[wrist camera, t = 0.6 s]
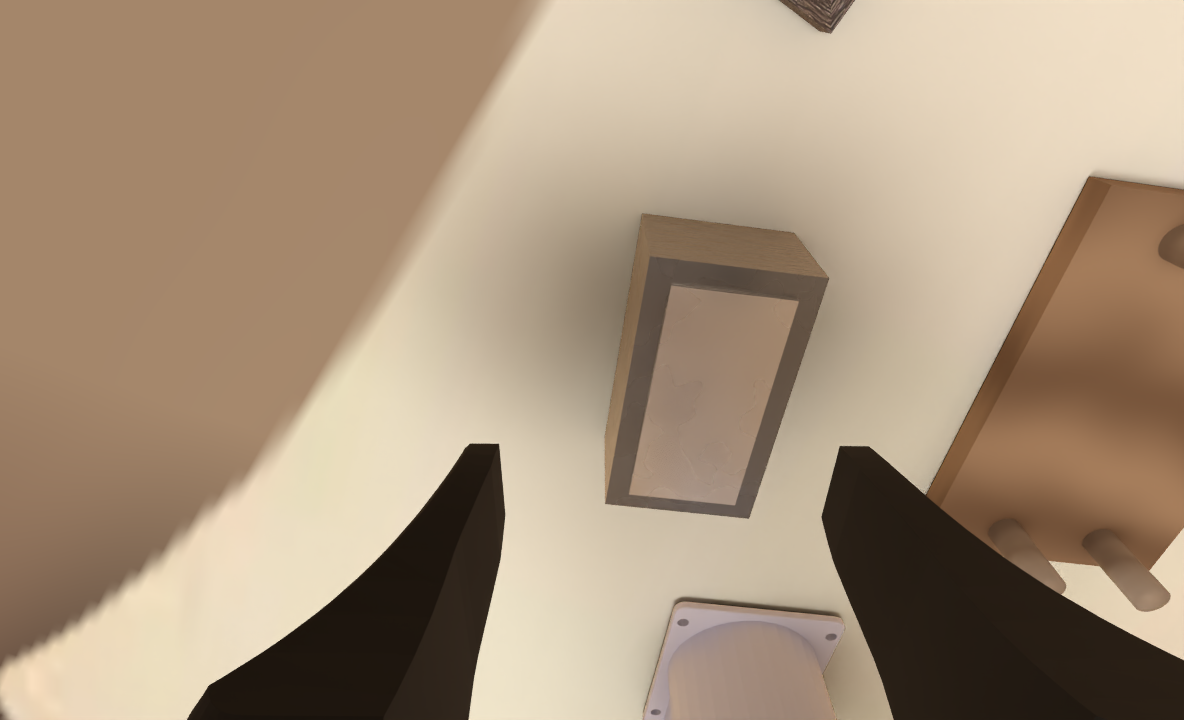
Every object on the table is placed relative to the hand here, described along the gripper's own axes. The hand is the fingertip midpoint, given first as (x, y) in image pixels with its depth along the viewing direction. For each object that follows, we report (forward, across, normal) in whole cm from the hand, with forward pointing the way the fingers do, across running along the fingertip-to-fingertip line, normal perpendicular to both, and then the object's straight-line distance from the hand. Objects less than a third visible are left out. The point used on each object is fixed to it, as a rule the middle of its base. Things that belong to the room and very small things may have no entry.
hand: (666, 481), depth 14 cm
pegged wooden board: (+10, -18, +4) cm, 21 cm away
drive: (+10, -2, +2) cm, 10 cm away
